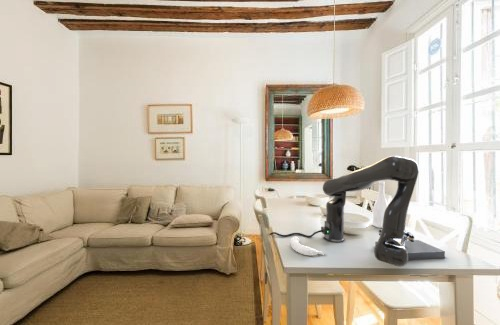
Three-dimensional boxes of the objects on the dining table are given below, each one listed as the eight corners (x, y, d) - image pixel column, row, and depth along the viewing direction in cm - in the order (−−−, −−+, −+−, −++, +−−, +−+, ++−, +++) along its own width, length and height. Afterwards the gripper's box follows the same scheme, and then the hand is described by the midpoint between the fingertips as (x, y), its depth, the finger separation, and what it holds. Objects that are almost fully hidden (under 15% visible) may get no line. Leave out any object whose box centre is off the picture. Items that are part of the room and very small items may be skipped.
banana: (288, 240, 121) (316, 241, 120) (292, 258, 102) (325, 259, 101) (288, 232, 121) (316, 233, 120) (293, 248, 102) (326, 249, 101)
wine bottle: (369, 224, 152) (370, 180, 152) (382, 224, 153) (383, 180, 153) (378, 228, 143) (380, 182, 142) (392, 228, 144) (393, 182, 143)
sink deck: (396, 260, 99) (396, 253, 99) (375, 247, 113) (375, 241, 113) (444, 257, 102) (444, 251, 102) (418, 245, 116) (418, 239, 116)
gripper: (415, 235, 91) (415, 225, 105) (375, 228, 100) (380, 219, 113) (414, 253, 91) (415, 241, 105) (375, 245, 100) (380, 234, 114)
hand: (397, 230), depth 109 cm, fingers closed on plug, 4 cm apart
